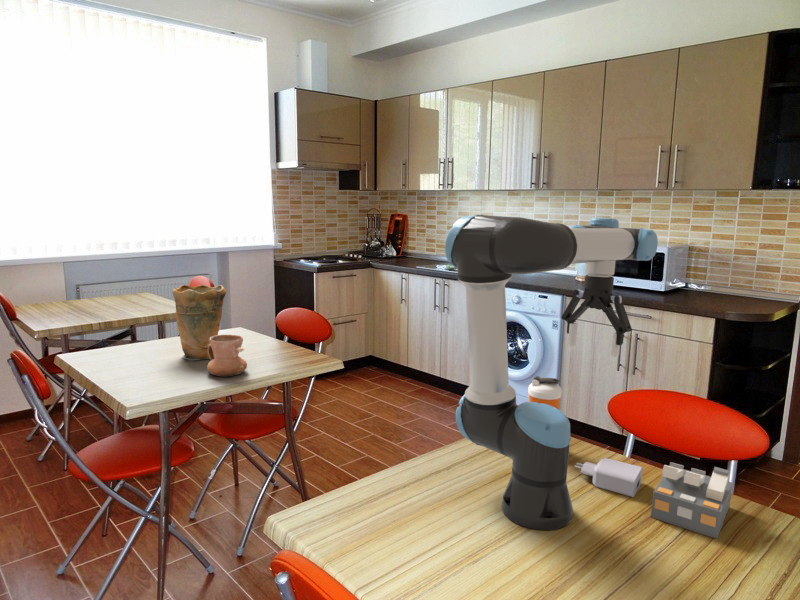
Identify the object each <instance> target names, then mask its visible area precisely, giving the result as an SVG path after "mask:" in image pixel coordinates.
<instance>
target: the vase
mask: <svg viewBox="0 0 800 600" xmlns="http://www.w3.org/2000/svg"><path fill="white" fill-rule="evenodd" d="M226 291H227V290H226V288H225V287H224V286H223V285H222V284H221V285H220V284H219V285H217V286H209V285H206V284H201V285H196V286H190V285H187V284H183V285H180V286H179V287H177V288H175V287H174V288H173V289H172V296H173V299H174V304H175V305H174V306H175V317H176V318H175V319H176V324H177V325H176V326H177V331H178V334H179V341H180V344H181V349H182V351H183V354H184V355H183V356H182V358H183V359H184V360H188V361H200V360H206V359H210V358H209V355H208V346H209V344H210V337H213V336H215V335H219V332H220V331H219V330H220V326H221V320H222V315H223V305H224V299H225V297H226V294H227V292H226ZM212 351H213V350H212ZM213 355H214V358H215V354H214V352H213Z"/></svg>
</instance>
